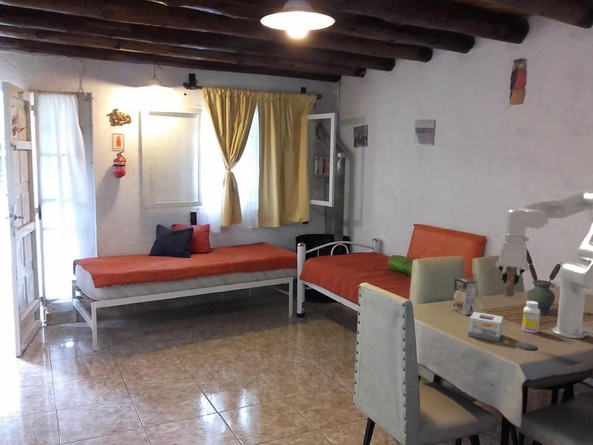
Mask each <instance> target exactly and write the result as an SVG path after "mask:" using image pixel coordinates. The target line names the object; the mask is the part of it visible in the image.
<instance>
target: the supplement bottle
mask: <svg viewBox="0 0 593 445" xmlns="http://www.w3.org/2000/svg"><path fill="white" fill-rule="evenodd" d="M525 304H526V306H524V308H523V311H522V312H523V313H522V325H521V330H523V331H524V332H527V333H533V334H534V333H538V332H539V327H540V317H541V316H540V315H541V310H540V308H538V307H539V302H537V301H535V300H527V301H526V303H525Z"/></svg>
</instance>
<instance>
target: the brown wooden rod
mask: <svg viewBox="0 0 593 445" xmlns="http://www.w3.org/2000/svg"><path fill="white" fill-rule="evenodd" d="M506 273H507V274H506V283H504V293H503V294H504V296H506V297H513V298H514V296H515V287H516V285H515V284H514V283H515V275H516V273H517V268H515V267H507V269H506Z"/></svg>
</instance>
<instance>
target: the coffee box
mask: <svg viewBox="0 0 593 445" xmlns="http://www.w3.org/2000/svg"><path fill="white" fill-rule="evenodd" d="M453 285H454V286H453V297H452V299H453V300H452V310H453V311H455V312H456V313H458V314H462V315H464V316H465V315H466V316H468V315H472V314H473V313H474V312H475V306H476V305H475V304H476V303H475V302H476V293H477V292H476V290H477V281H475V280H473V279H470V278H467V277H457V278H454V284H453Z"/></svg>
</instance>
